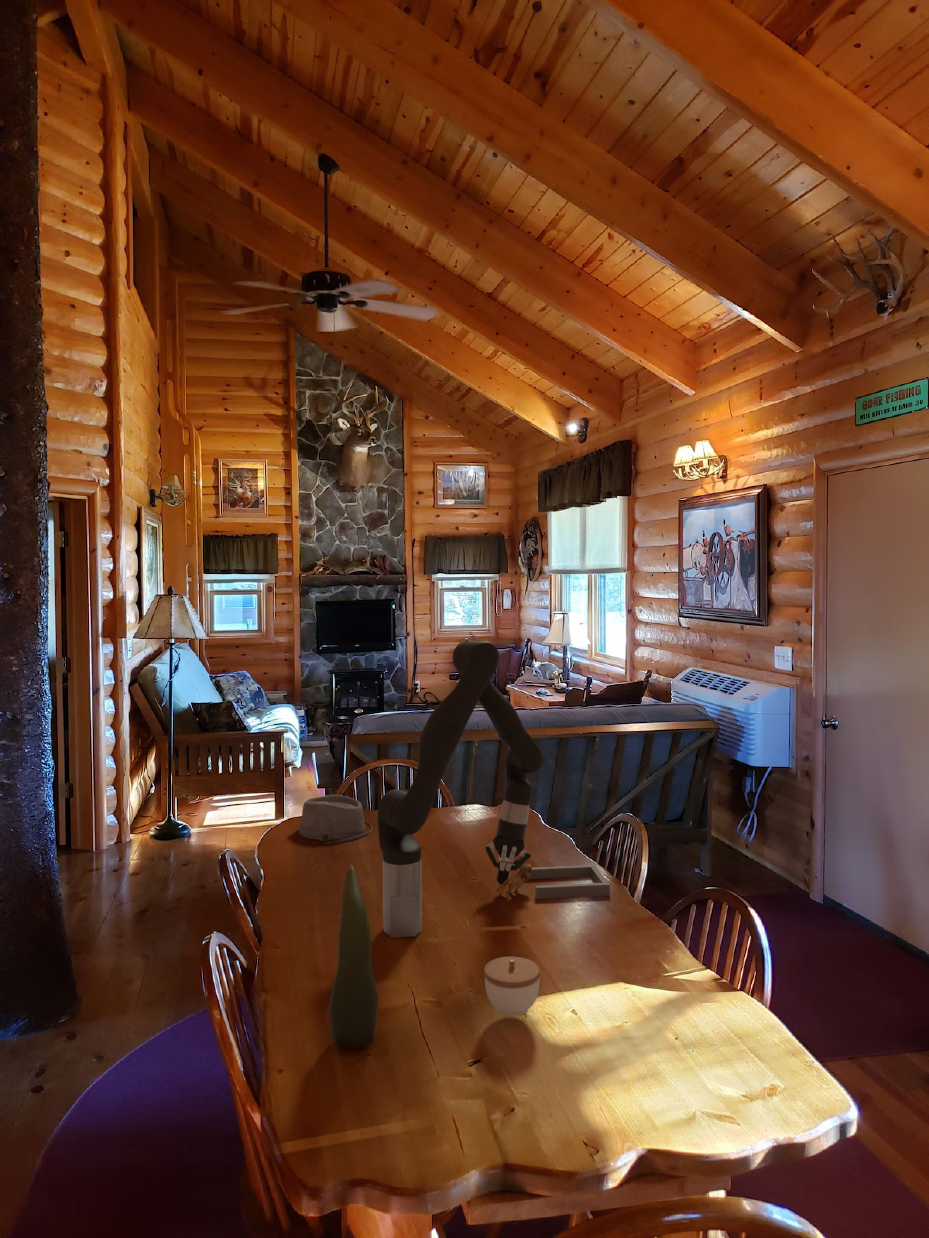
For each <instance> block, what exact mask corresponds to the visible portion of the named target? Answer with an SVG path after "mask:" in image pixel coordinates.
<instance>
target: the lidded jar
mask: <svg viewBox="0 0 929 1238" xmlns="http://www.w3.org/2000/svg"><path fill="white" fill-rule="evenodd" d="M483 968H484V970H483V975H484V986H485V991H486V996H487V999H488V1000H489V1003H490V1004H491V1006H493V1008H495V1009H496V1011H497V1012H498V1014H501V1015H502V1016H506V1017H511V1018H513V1017H520V1016H523V1015H526V1013H527V1012H528V1010H529V1009H530V1008H531V1007H532V1006H533V1005H534V1003H535V1002H536V1000H537V998H538V995H539V989H540V976H541V969H540V967H539V965H538V964H536V962H534V961H533V960H531V959H528V958H525V957H520V956H502V957H498V958H494V959H492V960H490V961H489V962H487V963H486V965H485V966H484V967H483Z"/></svg>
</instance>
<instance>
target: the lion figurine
mask: <svg viewBox="0 0 929 1238" xmlns="http://www.w3.org/2000/svg"><path fill="white" fill-rule="evenodd" d="M532 868H533V867H532V866H531V864H529V863H527V864H524V863H523V864H522V865H521V866H520V867H519V868H518V869H519V870H518V872H517V873H516V875H514V876H512V877H511V876H510V877H508V879H507V880H506V881H505V882H504V883H503V884H502V885H499V886H498V887H497V888H496V889H495V892H496V893H498V895H497V896H498V899H500V898H501V896H502V892H503V891H504V890H505V889H506V888H507V887H508V889H507V891H506V892H505V897H506V898H509V897H510V895H509V894H510V893H511V892H512V891H513V890H514V891H515V892H518V891H519V889H520V888H521V887H522V886H523V885H524V884H525V883H528V881H529V880H530V879H529V877H530V876H531V873H532Z"/></svg>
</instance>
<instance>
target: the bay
mask: <svg viewBox="0 0 929 1238" xmlns="http://www.w3.org/2000/svg"><path fill="white" fill-rule="evenodd" d="M581 877H583V878H584V877H590V878H591V879H592V880H593V882H594V883H593V882H592V883H590V882H589V883H587V882H586V883H570V884H568V883H567V884H566V883H565V884H549V885H548V884H546V885H545V884H544V885H535V891H534V893H535V895H534V896H535V899H536V900H551V899H570V898H571V899H572V898H573V899H574V898H575V899H576V898H592V897H593V898H594V897H610V896H611V884H610V883H609V882H608V880H607V879H606V878H605V876H604V875H603V874H602V872H601V871H600V870H599V868H598V867H597V866H596V864H585V865H565V866H564V865H562V866H561V865H560V866H541V867H540V866H537V867H536V866H535V867H532V873H531V876H530V877H529V879H528V880H537V879H538V880H541V879H542V880H543V879H559V878H581Z"/></svg>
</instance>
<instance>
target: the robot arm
mask: <svg viewBox="0 0 929 1238" xmlns="http://www.w3.org/2000/svg"><path fill="white" fill-rule="evenodd" d="M499 660H500V653H499V649H498V648H497V646H496V645H495V644H494V643H492V642H490V641H486V640H485V641H484V640H467V641H462V642H460V643H458V644H457V645H456V646H455V648H454V649H453V652H452V663H453V666H454V669H455V670H456V672H457V673H458V675H459V676H460V679H459V681H458V683H457V684H456V685H455V687H454V688H453V690H452V691H451V692H449V694H448V695H447V696H446V697H445V698H444V699H443V700H442V701H440V702H439V704H438V705H437V706H436V707H435V708H434V709H433V710H432V712H431V713H430V715H429V717H428V719H427V720H426V723H425V725H424V727H423V729H422V731H421V734H420V736H419V740H418V766H417V770H416V774H415V776H414V779H413V781H412V783H411V786H410V788H409V789H408V791H405V790H401V789H391V790H388V791H386V792H385V793H384V794H383V796H382V797H381V799H380V800H379V803H378V808H377V828H378V829H377V830H378V843H379V848H380V851H381V853H382V916H383V917H382V918H383V919H382V921H383V925H382V926H383V927H382V928H383V929H382V930H383V932H384V933H385V934H386V935H387V936H389V938H391V939H392V938H393V939H394V938H411V937H412V938H413V937H417V935H418V934H419V933H420V932H421V931H422V930H423V913H422V911H423V909H422V904H423V903H422V901H423V900H422V898H423V897H422V848H421V844H420V843H418V841H417V840H416V839H415V838H414V836H413V834H414V835H415V834H416V833H418V832H419V831H420V830H421V829H422V828H423V827H424V825H425V823H426V822H427V819H428V817H429V815H430V812H431V809H432V806H433V804H434V801H435V798H436V795H437V792H438V789H439V787H440V784H441V782H442V779H443V776H444V774H445V772H446V770H447V768H448V765H449V763H450V761H451V759H452V756H453V754H454V753H455V751H456V749H457V746H458V745H459V742H460V741H461V738H462V736H463V734H464V731H465V729H466V727H467V724H468V722H469V720H470V718H471V716H472V715H473V712H474V710H475V708H476V706H477V704H478V702H479V703H480V705H481V706H482V708H483V710H484V711H485V713H486V714H487V716H488V717H489V719H490V721H491V723H492V725H493V727H494V729H495V732H496V733H497V735H498V737H499V738H500V740H501V742H502V743H503V744H505V746H507V747H509V749H508V751H507V753H506V757H505V759H506V760H505V777H506V785H505V790H504V791H505V792H504V797H503V802H502V803H501V804H502V805H501V808H500V812H499V818H498V823H497V829H496V832H495V833H496V834H495V836H494V838H493V839H492V842H490V843H488V844H487V843H486V844H484V846H483V847H484V850H485V852H486V853H487V855H488V857H489V860H490V861H491V864H492V865H493V866H494V867H495V868H496V869H497V873H496V877H495V878H496V879H495V880H496V882H497V884H498V885H499V886H501V885H502V884H503V883H504V882H505V881H506V880H507V879H509V874H510V872H511V871H517V870H518V869H519V868H520V866H521V865H522V864H523V865H524V864H525V863H526V862H527V861H528V860H529V859H530V858H531V854H530V852H529V851H528V850H527V849H526V845H525V836H526V831H527V827H528V826H527V825H528V821H529V820H528V819H529V815H530V805H531V800H532V794H533V784H532V783H531V782H530V781H529V780H528V774H534V773H537V772H539V771H541V768H542V767H543V765H544V755H543V753H542V750H541V748H540V747H539V745H538V743H537V742H536V741H535V740H534V738H533V737H532V736H531V735H530V734H529V732H528V731H527V730H526V728H525V726H524V724H523V722H522V720H521V718H520V716H519V714H518V712H517V711H516V709H515V707H514V706H513V704H512V703H511V702H510V701H509V699H507V697H505V695H503V694H502V692H500V691H499V689H498V688H497V687H496V686H495V684H494V683H493V682H492V680H491V679H492V678H493V676H494V674H495V673H496V670H497V668H498V666H499V662H500V661H499ZM494 848H495V849H494ZM495 850H496V852H497V854H498V861H497V859H496V857H495V856H494V853H493V852H494V851H495ZM518 855H520V856H519V857H518V858H517V859H516V860H515V861H514V859H515V858H516V857H517V856H518Z"/></svg>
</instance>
